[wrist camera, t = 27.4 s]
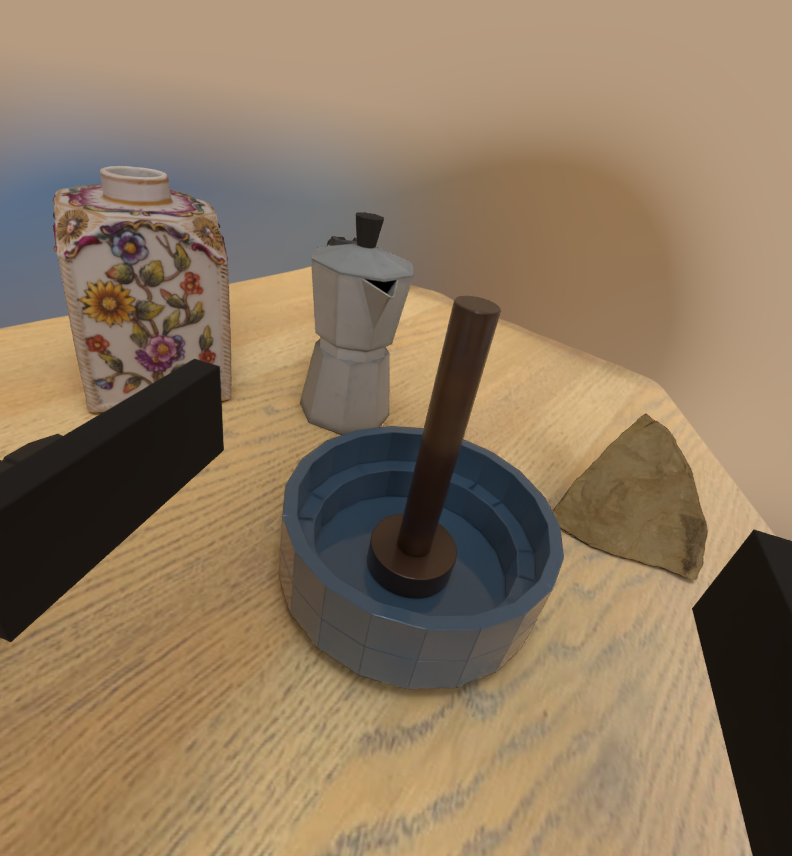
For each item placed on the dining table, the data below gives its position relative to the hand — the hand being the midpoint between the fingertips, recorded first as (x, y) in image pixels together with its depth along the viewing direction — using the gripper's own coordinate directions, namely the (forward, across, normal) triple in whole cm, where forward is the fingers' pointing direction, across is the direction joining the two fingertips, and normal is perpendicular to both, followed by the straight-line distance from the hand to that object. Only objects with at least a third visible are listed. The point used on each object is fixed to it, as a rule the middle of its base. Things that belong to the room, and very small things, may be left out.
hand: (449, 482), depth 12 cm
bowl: (+13, -2, -18) cm, 22 cm away
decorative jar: (+25, -30, -18) cm, 43 cm away
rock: (+23, +13, -18) cm, 32 cm away
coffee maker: (+30, -14, -18) cm, 38 cm away
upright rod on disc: (+13, -2, -17) cm, 22 cm away
